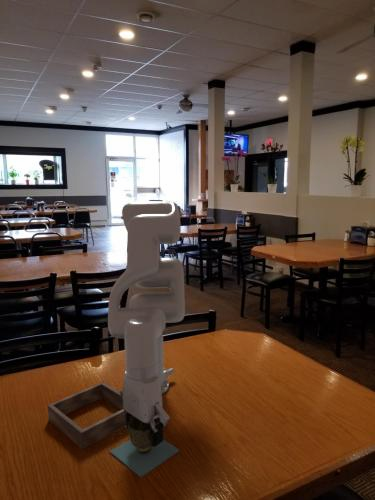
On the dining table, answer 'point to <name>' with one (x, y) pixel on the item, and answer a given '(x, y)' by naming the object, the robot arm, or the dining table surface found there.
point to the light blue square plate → (143, 456)
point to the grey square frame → (79, 400)
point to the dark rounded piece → (140, 434)
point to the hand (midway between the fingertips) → (144, 434)
